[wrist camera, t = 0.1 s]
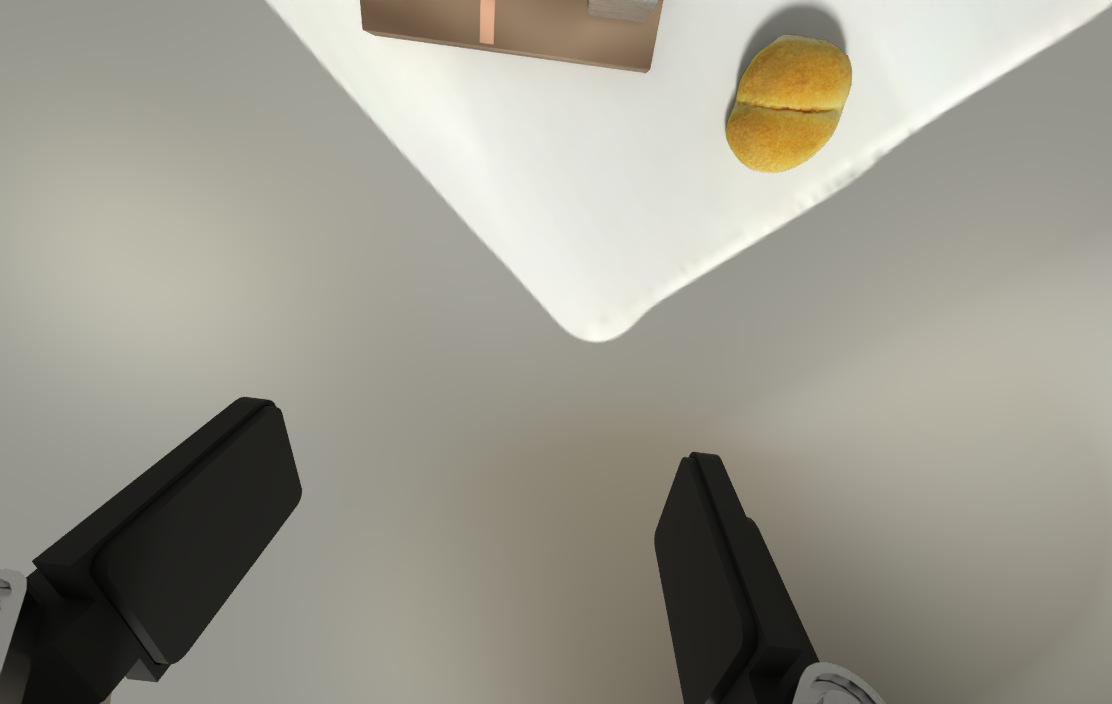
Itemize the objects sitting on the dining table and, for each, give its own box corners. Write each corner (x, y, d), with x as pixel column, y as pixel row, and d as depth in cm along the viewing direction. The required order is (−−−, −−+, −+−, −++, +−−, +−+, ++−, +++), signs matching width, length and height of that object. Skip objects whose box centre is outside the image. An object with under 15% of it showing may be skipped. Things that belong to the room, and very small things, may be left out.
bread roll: (711, 164, 34) (727, 168, 31) (749, 33, 30) (772, 20, 27) (806, 178, 35) (832, 184, 31) (858, 50, 30) (894, 39, 27)
